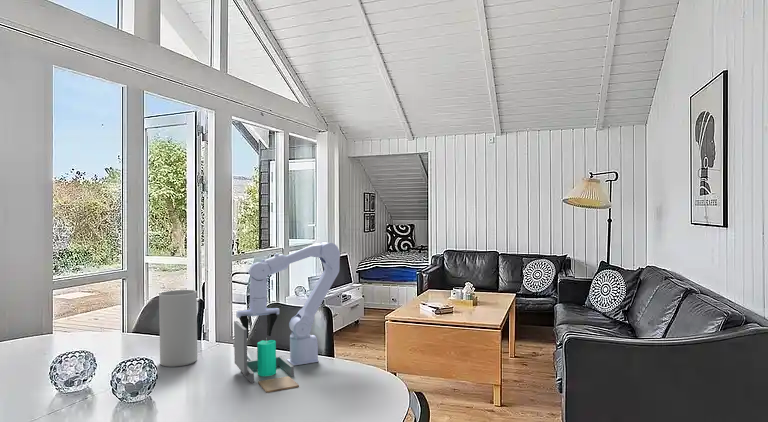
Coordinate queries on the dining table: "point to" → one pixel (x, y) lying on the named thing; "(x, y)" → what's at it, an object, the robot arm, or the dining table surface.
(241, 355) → the grey bracket
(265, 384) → the tan pad
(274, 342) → the candle
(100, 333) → the dining table surface
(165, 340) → the cylinder vase
